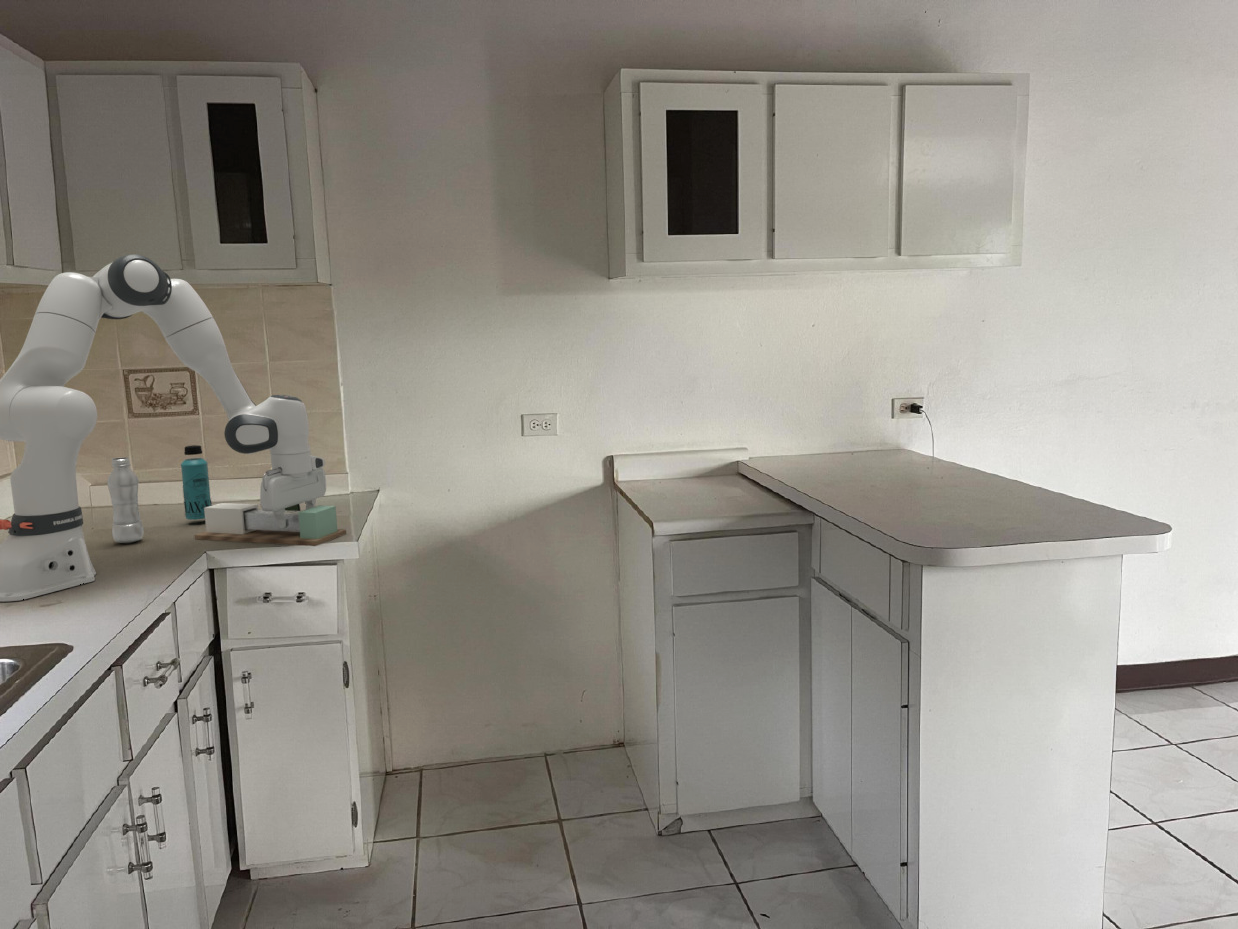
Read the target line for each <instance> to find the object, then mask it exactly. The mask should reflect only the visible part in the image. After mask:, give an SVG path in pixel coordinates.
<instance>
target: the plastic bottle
mask: <svg viewBox="0 0 1238 929" xmlns="http://www.w3.org/2000/svg"><path fill="white" fill-rule="evenodd" d="M130 466H131V462H130V457H127V456H125V457H114V458H111V468H112V471H110V474H109V475H108V478H107V481H106V484H107V488H108V492H109V495H110V499H111V504H112V507H111V508H112V530H111V532H112V533H111V534H112V538H113V540H114V541H115V543H117V544H132V543H135V542H138V541H141V540H142V539H143V537H144V530H145V529H144V526H143V523H142V521H141V515H140V511H139V496H138V495H139V494H138V493H139V477H138V476H137V474H136V473H135V471H133V470H132V469H131V467H130Z"/></svg>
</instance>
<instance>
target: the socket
mask: <svg viewBox="0 0 1238 929" xmlns="http://www.w3.org/2000/svg"><path fill="white" fill-rule="evenodd" d="M336 509H337V506H335V505H315V507H313V508H310V509H307V510H301V512H298V515H299V527H300V538H305V539H319V538H321V537H324V536H327V535H329V534H332V533H334V532H337V529H338V520H337V510H336Z"/></svg>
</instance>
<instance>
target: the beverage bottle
mask: <svg viewBox="0 0 1238 929" xmlns="http://www.w3.org/2000/svg"><path fill="white" fill-rule="evenodd" d="M202 449H203V448H202V446H201V445H197V444H195V445H194V444H193V445H186V446H185V447H184V451H183V452H184V455H185V456H193V455H195V456H197V455H201V454H203V450H202ZM208 464H209V463H208V461H207V460H205V459H204V458H203V457H195V458H193V457H191V458H186V459H184V460H183V461H182V462H181V463H180V466H181V467H180V468H181V480H182V496H183V504H184V505H183V506H184V516H185V519H186V520H190V521H191V520H194V521H195V520H205V512H204V508H205V507H209V506H212V498H211V489H210V487H211V486H210V481H211V480H210V478H209V468H208Z"/></svg>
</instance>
